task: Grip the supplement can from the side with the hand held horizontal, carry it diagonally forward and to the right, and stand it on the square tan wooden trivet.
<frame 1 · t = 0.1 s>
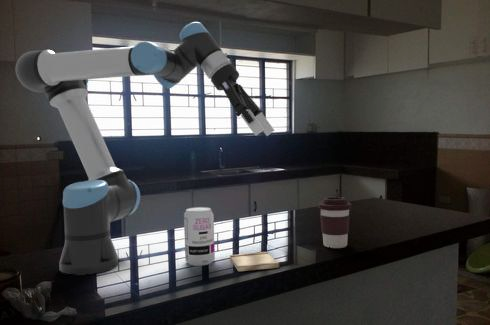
hand: (265, 133, 113), 36 cm above the table, tool tilted 35°, fingers open, 13 cm apart
coffee cup: (335, 246, 131), on the table
trivet: (253, 263, 114), on the table
supplement can: (200, 262, 117), on the table
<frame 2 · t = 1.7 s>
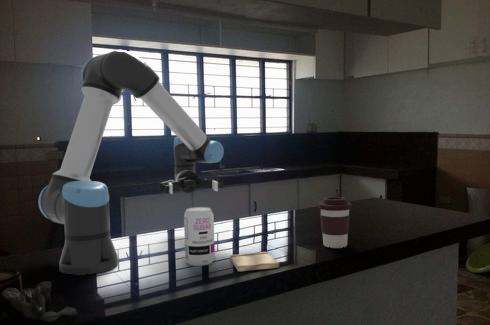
hand: (194, 188, 125), 20 cm above the table, tool horizontal, fingers open, 13 cm apart
nothing on the table moved.
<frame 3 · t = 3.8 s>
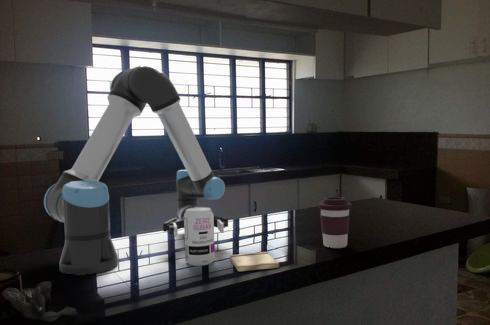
hand: (199, 230, 122), 8 cm above the table, tool horizontal, fingers open, 13 cm apart
nothing on the table moved.
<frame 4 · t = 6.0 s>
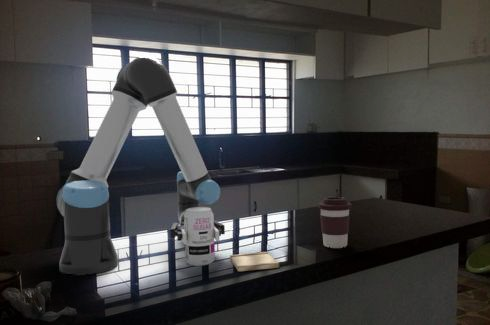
hand: (201, 237, 112), 8 cm above the table, tool horizontal, fingers closed on supplement can, 8 cm apart
supplement can: (200, 262, 117), on the table, touching gripper
everything else where it was.
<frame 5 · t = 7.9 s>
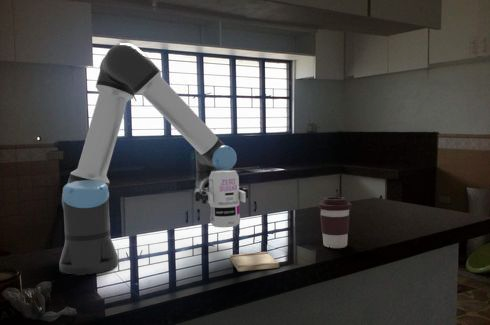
hand: (228, 198, 111), 18 cm above the table, tool horizontal, fingers closed on supplement can, 8 cm apart
supplement can: (225, 225, 116), point 10 cm above the table, touching gripper
everything else where it was.
when the fingers open (10 cm above the table, at t = 10.2 s): supplement can drops 1 cm, resting on trivet.
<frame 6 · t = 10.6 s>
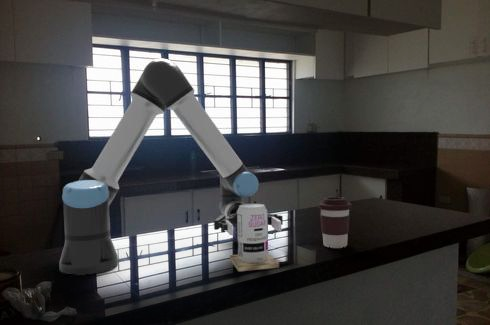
hand: (256, 228, 110), 10 cm above the table, tool horizontal, fingers open, 13 cm apart
supplement can: (253, 260, 114), point 1 cm above the table, touching trivet
everything else where it was.
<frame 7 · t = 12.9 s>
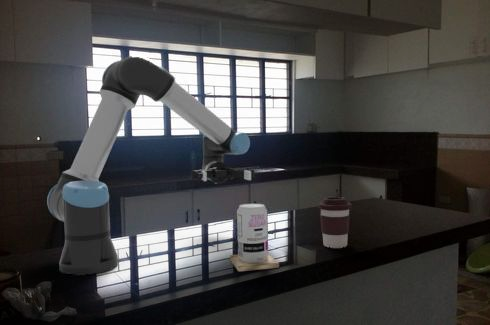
hand: (227, 176, 125), 23 cm above the table, tool horizontal, fingers open, 13 cm apart
nothing on the table moved.
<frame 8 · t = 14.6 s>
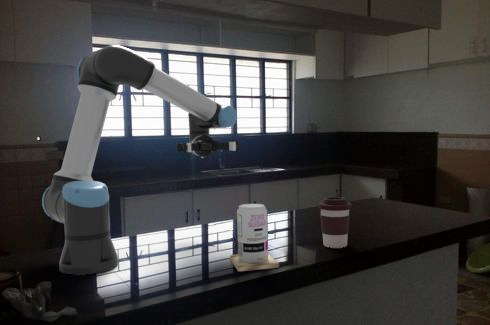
hand: (212, 146, 126), 32 cm above the table, tool horizontal, fingers open, 13 cm apart
nothing on the table moved.
at the end: supplement can 0.1 cm from the trivet (horizontally); supplement can tilted 0°; the gripper is holding nothing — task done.
